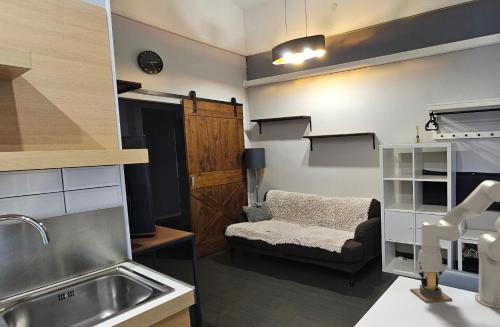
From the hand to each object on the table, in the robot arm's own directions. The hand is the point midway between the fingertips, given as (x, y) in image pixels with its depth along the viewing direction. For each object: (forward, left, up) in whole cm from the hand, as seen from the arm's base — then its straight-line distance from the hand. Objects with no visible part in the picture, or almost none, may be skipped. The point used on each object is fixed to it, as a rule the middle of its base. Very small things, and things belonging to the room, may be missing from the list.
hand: (429, 284), depth 150 cm
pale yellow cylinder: (0, 0, -3) cm, 3 cm away
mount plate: (0, 0, -5) cm, 5 cm away
